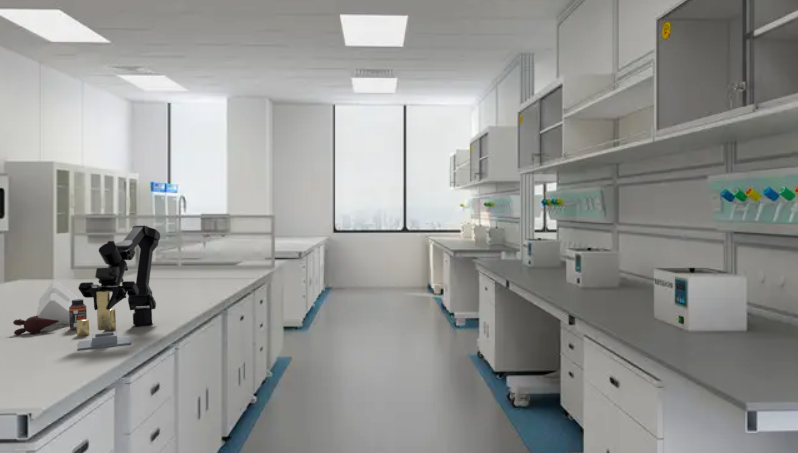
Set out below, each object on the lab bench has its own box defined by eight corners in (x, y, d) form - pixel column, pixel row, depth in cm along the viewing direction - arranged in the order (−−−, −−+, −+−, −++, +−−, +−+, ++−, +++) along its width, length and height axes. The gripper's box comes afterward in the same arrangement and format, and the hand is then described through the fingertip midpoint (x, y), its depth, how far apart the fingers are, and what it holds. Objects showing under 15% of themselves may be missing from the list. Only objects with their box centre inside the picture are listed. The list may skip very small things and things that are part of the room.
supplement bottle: (79, 330, 224) (78, 301, 224) (66, 329, 226) (64, 300, 225) (90, 327, 230) (89, 298, 230) (77, 326, 231) (76, 298, 231)
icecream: (60, 312, 228) (15, 319, 223) (55, 311, 221) (9, 317, 216) (61, 330, 226) (17, 337, 221) (57, 329, 220) (10, 336, 215)
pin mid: (115, 328, 226) (115, 308, 226) (116, 330, 222) (115, 309, 222) (104, 329, 224) (103, 309, 224) (104, 331, 220) (103, 310, 220)
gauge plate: (129, 337, 209) (129, 329, 209) (131, 344, 198) (130, 335, 198) (78, 343, 202) (78, 334, 202) (77, 350, 191) (77, 341, 191)
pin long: (107, 327, 203) (105, 290, 202) (113, 328, 200) (111, 291, 200) (95, 329, 199) (94, 291, 199) (101, 330, 197) (99, 292, 197)
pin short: (89, 333, 218) (88, 318, 218) (89, 335, 215) (88, 320, 214) (77, 334, 216) (76, 319, 216) (76, 336, 213) (76, 321, 213)
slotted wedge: (39, 333, 238) (31, 301, 227) (42, 313, 246) (35, 282, 235) (77, 329, 243) (71, 299, 232) (79, 310, 251) (74, 280, 240)
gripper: (79, 259, 203) (64, 295, 192) (134, 258, 203) (121, 294, 193) (91, 279, 211) (77, 315, 200) (144, 277, 211) (132, 313, 201)
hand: (101, 309), depth 198 cm, fingers closed on pin long, 4 cm apart
